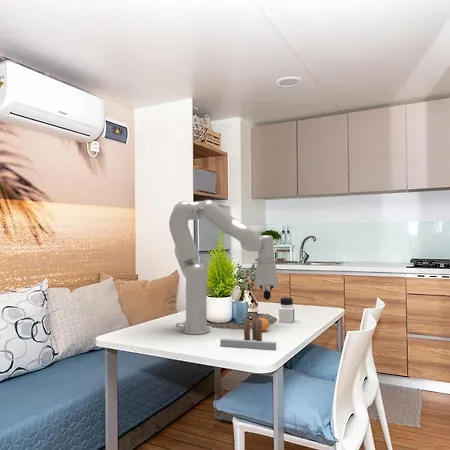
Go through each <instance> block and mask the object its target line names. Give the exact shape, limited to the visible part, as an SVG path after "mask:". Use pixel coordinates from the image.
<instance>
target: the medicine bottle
mask: <svg viewBox="0 0 450 450" xmlns="http://www.w3.org/2000/svg"><path fill="white" fill-rule="evenodd" d="M293 303H294V302H293V298H292V297H288V296H285V297H284V296H283V297H281V298H280V306H279V308H278V317H279V318H278V320H279V321H278V322H279V323H280V324H294V322H295V306H294V305H293Z"/></svg>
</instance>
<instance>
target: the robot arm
mask: <svg viewBox="0 0 450 450" xmlns="http://www.w3.org/2000/svg"><path fill="white" fill-rule="evenodd" d="M204 219H205V220H206V221H208V222H209V223H211V224H212V225H213V226H214V227H216V229H218V230H219V231H221V232H222V233H224V234H225V235H228V236H230V237H232V238H234V239H235V240H237V241H238V242H240V247H241V248H242V249H243V250H244V251H246V252H257V258H255V261H254V262H256V263H257V264H256V266H255V279H254V280H255V288H259V289H261V290H262V292H263V298H264V300H265V301H266V300H267V301H269V300H270V298H271V297H272V296H271V295H272V293H271V291H272V290H273V289H274V288H278V287H279V284H278V281H279V280H278V270H277V265H276V263H275V251H274V237H273V236H272V235H270V234H269V235H266V234H265V235H258V234H256V233H255V232H254V231H253V230H251V228H250V227H248V226H246V225H245V224H243V223H242V222H241V221H239V220H238V219H236V218H235V217H233V216H232V215H231V214H230V213H228V212H227V211H226V210H225V209H224V208H222V207H221V206H220V205H219V204H218V203H216V202H215V201H214V200H211V199H205V200H203V201H193V202H192V201H191V202H190V201H187V200H183V201H179V202H178V203H176V204H175V205H174V206H173V208H172V212H171V214H170V216H169V221H168V224H169V225H168V227H169V228H168V229H169V232H170V235H171V239H172V240H173V243H174V254H175V257H176V260H177V263H178V265H179V267H180V270H181V272H182V274H183V276H184V278H185V320H184V322H183V321H182V322H176V323H175V328H179V329H181V328H182V332H183V334H187V335H205V334H208V333H210V332H211V328H210V327H209V326H208V325H207V324H208V322H207V321H208V317H207V316H208V315H207V314H208V312H207V311H208V309H207V308H208V306H207V305H208V304H207V303H208V302H207V287H208V286H207V284H208V282H207V281H208V271H207V269H206V266H205V265H204V264H203V263H201V262H200V260H199V257H198V247H197V245H196V244H195V241H194V239H193V236H192V234H191V230H190V228H189V221H193V220H204Z"/></svg>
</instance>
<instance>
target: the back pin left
mask: <svg viewBox="0 0 450 450" xmlns="http://www.w3.org/2000/svg"><path fill="white" fill-rule="evenodd" d="M243 331H244V332H243V334H244V335H243V340H250V341H251V320H250V318H244V319H243Z"/></svg>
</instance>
